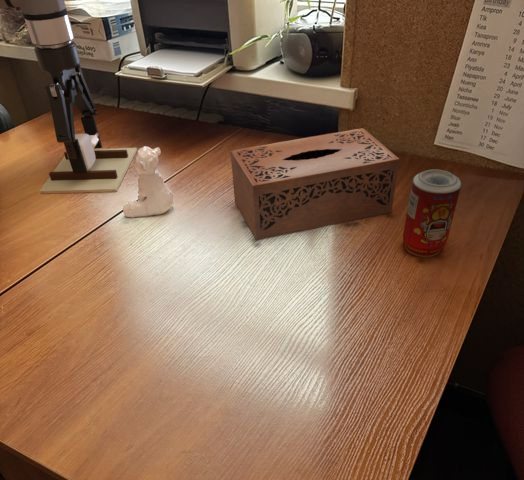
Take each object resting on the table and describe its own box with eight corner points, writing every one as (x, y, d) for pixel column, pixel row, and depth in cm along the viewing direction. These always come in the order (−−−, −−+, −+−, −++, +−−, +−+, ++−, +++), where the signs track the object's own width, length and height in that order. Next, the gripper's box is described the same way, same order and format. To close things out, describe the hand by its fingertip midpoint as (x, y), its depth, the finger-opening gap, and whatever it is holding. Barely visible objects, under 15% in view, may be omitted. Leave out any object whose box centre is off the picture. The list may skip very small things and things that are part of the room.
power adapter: (85, 149, 112) (77, 122, 108) (106, 149, 112) (99, 122, 108) (69, 172, 104) (60, 144, 100) (92, 171, 104) (83, 143, 100)
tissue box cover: (256, 240, 87) (252, 185, 80) (234, 201, 97) (230, 150, 90) (391, 212, 92) (399, 159, 85) (358, 178, 102) (362, 127, 94)
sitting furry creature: (146, 193, 101) (132, 133, 92) (185, 199, 99) (174, 137, 90) (122, 217, 95) (105, 155, 86) (162, 223, 92) (149, 160, 84)
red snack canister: (415, 263, 80) (429, 191, 72) (393, 240, 85) (404, 171, 76) (453, 254, 82) (472, 182, 73) (430, 232, 86) (445, 163, 78)
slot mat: (40, 193, 103) (36, 184, 101) (69, 152, 117) (66, 143, 116) (116, 191, 102) (114, 182, 101) (137, 150, 116) (135, 141, 115)
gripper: (55, 27, 101) (86, 137, 116) (9, 63, 84) (53, 185, 100) (91, 26, 100) (118, 136, 116) (52, 61, 84) (90, 184, 99)
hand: (88, 159), depth 108 cm, fingers closed on power adapter, 11 cm apart
